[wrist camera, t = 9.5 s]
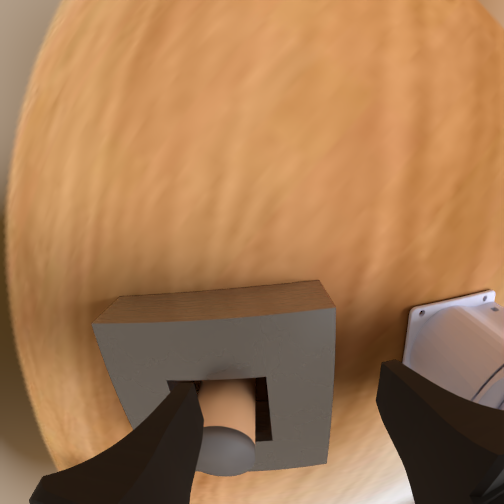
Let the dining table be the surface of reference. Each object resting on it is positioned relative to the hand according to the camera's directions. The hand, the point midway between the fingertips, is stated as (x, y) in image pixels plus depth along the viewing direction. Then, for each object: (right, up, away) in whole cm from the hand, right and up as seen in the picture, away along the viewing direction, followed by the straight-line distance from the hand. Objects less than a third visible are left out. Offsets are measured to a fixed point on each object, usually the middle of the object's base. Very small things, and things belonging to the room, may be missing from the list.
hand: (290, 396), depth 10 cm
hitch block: (-3, -4, +11) cm, 12 cm away
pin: (-3, -4, +11) cm, 12 cm away
